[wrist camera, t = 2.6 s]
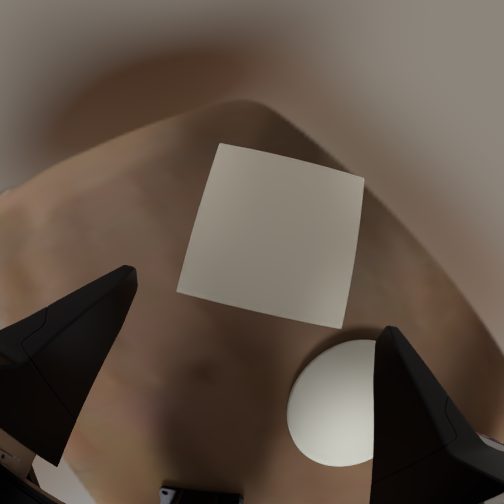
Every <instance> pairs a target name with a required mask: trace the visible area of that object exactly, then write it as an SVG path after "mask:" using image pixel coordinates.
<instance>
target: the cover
mask: <svg viewBox="0 0 504 504" xmlns="http://www.w3.org/2000/svg"><path fill="white" fill-rule="evenodd" d="M364 179H365V178H362V177H359V176H356V175H353V174H349V173H346V172H342V171H339V170H335V169H332V168H328V167H325V166H321V165H317V164H313V163H309V162H306V161H302V160H298V159H293V158H289V157H285V156H281V155H276V154H272V153H267V152H263V151H258V150H253V149H249V148H244V147H238V146H233V145H228V144H222V143H219V146H218V149H217V152H216V155H215V158H214V161H213V165H212V168H211V171H210V174H209V177H208V180H207V183H206V187H205V190H204V193H203V196H202V200H201V203H200V206H199V210H198V213H197V217H196V220H195V224H194V227H193V231H192V234H191V238H190V241H189V245H188V249H187V252H186V256H185V260H184V263H183V267H182V271H181V275H180V279H179V283H178V287H177V291H176V292H180V293H183V294H187V295H191V296H195V297H199V298H202V299H206V300H210V301H214V302H218V303H222V304H226V305H230V306H235V307H239V308H243V309H247V310H252V311H256V312H260V313H265V314H269V315H274V316H278V317H283V318H288V319H292V320H297V321H302V322H307V323H312V324H317V325H322V326H327V327H332V328H338V329H341V328H342V323H343V318H344V314H345V309H346V304H347V299H348V294H349V288H350V283H351V277H352V271H353V265H354V259H355V253H356V246H357V239H358V232H359V225H360V217H361V208H362V199H363V189H364Z"/></svg>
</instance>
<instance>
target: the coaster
mask: <svg viewBox="0 0 504 504" xmlns="http://www.w3.org/2000/svg"><path fill="white" fill-rule="evenodd" d="M375 343H376V341H373V340H361V339H360V340H351V341H347V342H343V343H340V344H338V345H335V346H333V347H331V348H329V349H327V350H325V351H324V352H322V353H321V354H319V355H318V356H317V357H316V358H314V359H313V360H312V361H311V362H310V363H309V364H308V365H307V366H306V367H305V368H304V369H303V371H302V372H301V373H300V375H299V376H298V378H297V380H296V381H295V383H294V385H293V387H292V390H291V392H290V395H289V399H288V403H287V424H288V428H289V431H290V434H291V437H292V439H293V441H294V443H295V444H296V446H297V447H298V448H299V450H300V451H301V452H302V453H303V454H304V455H306V456H307V457H309V458H310V459H312V460H314V461H316V462H318V463H321V464H324V465H329V466H350V465H355V464H359V463H362V462H365V461H367V460H370V459H372V458H373V441H374V400H373V373H374V355H375Z"/></svg>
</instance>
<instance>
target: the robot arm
mask: <svg viewBox="0 0 504 504" xmlns="http://www.w3.org/2000/svg"><path fill="white" fill-rule="evenodd" d="M137 287H138V283H137V273H136V269H135V268H134V267H132V266H128V265H123V266H121V267H119V268H117V269H116V270H114V271H112V272H110V273H108V274H106V275H104V276H102V277H100V278H98V279H96V280H95V281H93V282H91V283H89V284H87V285H85V286H83V287H81V288H80V289H78V290H76V291H74V292H72V293H70V294H69V295H67V296H65V297H63V298H61V299H59V300H58V301H56V302H54V303H52V304H50V305H49V306H48V307H45V308H43V309H42V310H40V311H38V312H36V313H34V314H32V315H31V316H29V317H27V318H25V319H23V320H21V321H19V322H16V323H14V324H12V325H10V326H8V327H6V328H4V329H1V330H0V504H65V503H63V502H61V501H60V500H58V499H57V498H55V497H53V496H52V495H50V494H48V493H47V492H45V491H44V490H42V489H41V488H40V486H39V483H38V480H37V478H36V475H35V473H34V470H33V467H32V463H33V460H34V458H35V456H36V454H37V455H38V456H40V457H41V458H43V459H45V460H46V461H48V462H49V463H51V464H53V465H54V466H56V467H57V466H58V464H59V462H60V459H61V457H62V454H63V452H64V449H65V447H66V444H67V442H68V439H69V437H70V435H71V432H72V430H73V427H74V425H75V423H76V420H77V418H78V416H79V413H80V411H81V409H82V407H83V404H84V402H85V400H86V398H87V396H88V394H89V391H90V389H91V387H92V385H93V383H94V381H95V379H96V377H97V375H98V373H99V371H100V369H101V367H102V365H103V363H104V361H105V359H106V357H107V355H108V353H109V351H110V349H111V347H112V345H113V343H114V341H115V339H116V337H117V335H118V333H119V332H120V330H121V328H122V325H123V323H124V321H125V318H126V316H127V313H128V311H129V308H130V306H131V303H132V301H133V299H134V296H135V294H136V291H137ZM373 400H374V441H373V467H372V484H371V493H370V504H504V451H500V450H497V449H494V448H492V447H490V446H488V445H487V444H486V443H484V441H483V440H482V439H481V438H480V437H479V435H478V434H477V433H476V431H475V430H474V429H473V428H472V426H471V425H470V424H469V423H468V421H467V420H466V419H465V418H464V416H463V415H462V414H461V412H460V411H459V410H458V408H457V407H456V406H455V404H454V403H453V401H452V400H451V398H450V397H449V396H447V393H446V391H445V390H444V389H443V387H442V386H441V384H440V383H439V382H438V380H437V379H436V377H435V376H434V375H433V373H432V372H431V371H430V369H429V368H428V367H427V365H426V364H425V363H424V361H423V360H422V359H421V357H420V356H419V355H418V353H417V352H416V351H415V349H414V348H413V347H412V345H411V344H410V343H409V342H408V340H407V339H406V338H405V336H404V335H403V334H402V333H401V331H400V330H399V329H398V328H397V327H394V326H386V327H385V328H384V330H383V331H382V333H381V334H380V336H379V337H378V338H377V340H376V343H375V355H374V373H373ZM164 491H167V492H168V493H166V492H164ZM159 496H160V503H161V504H243V496H242V495H240V494H232V493H217V492H207V491H197V490H189V489H181V488H175V487H168V486H162V487H161V488H160V490H159ZM234 499H239V500H234Z"/></svg>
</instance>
